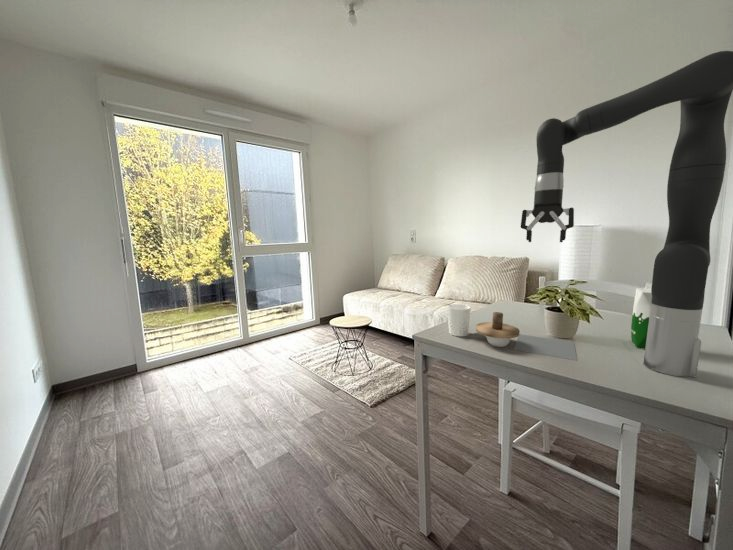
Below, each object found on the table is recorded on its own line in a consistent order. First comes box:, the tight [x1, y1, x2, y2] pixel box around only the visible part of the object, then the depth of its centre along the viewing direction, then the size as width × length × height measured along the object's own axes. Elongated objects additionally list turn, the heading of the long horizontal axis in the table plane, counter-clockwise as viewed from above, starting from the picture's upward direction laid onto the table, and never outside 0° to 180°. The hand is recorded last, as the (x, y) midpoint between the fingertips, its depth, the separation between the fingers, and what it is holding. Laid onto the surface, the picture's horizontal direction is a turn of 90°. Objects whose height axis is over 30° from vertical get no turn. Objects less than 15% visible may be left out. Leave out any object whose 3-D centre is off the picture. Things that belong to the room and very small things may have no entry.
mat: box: [513, 333, 578, 362], centre depth 95 cm, size 16×16×1 cm
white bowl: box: [484, 335, 511, 348], centre depth 97 cm, size 10×10×5 cm
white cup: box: [447, 303, 472, 337], centre depth 108 cm, size 8×8×10 cm
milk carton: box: [630, 287, 652, 349], centre depth 93 cm, size 9×9×20 cm
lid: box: [475, 311, 521, 339], centre depth 97 cm, size 13×13×6 cm
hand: (545, 242), depth 95 cm, fingers open, 8 cm apart
